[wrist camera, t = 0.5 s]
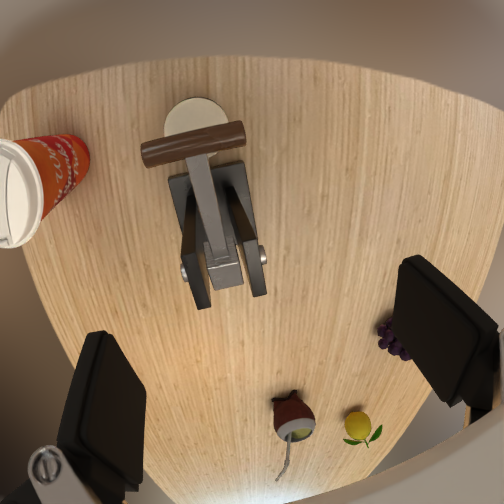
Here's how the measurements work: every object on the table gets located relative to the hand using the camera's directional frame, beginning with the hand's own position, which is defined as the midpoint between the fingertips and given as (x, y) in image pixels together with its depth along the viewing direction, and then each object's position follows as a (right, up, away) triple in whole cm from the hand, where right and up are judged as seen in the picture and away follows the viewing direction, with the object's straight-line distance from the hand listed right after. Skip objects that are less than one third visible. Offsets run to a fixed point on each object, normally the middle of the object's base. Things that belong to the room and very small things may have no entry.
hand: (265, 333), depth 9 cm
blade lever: (-3, +5, +10) cm, 12 cm away
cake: (-6, +15, +20) cm, 26 cm away
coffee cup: (-21, +13, +19) cm, 31 cm away
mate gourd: (+5, -24, +42) cm, 49 cm away
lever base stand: (-5, +7, +24) cm, 26 cm away
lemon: (+21, -32, +49) cm, 62 cm away
